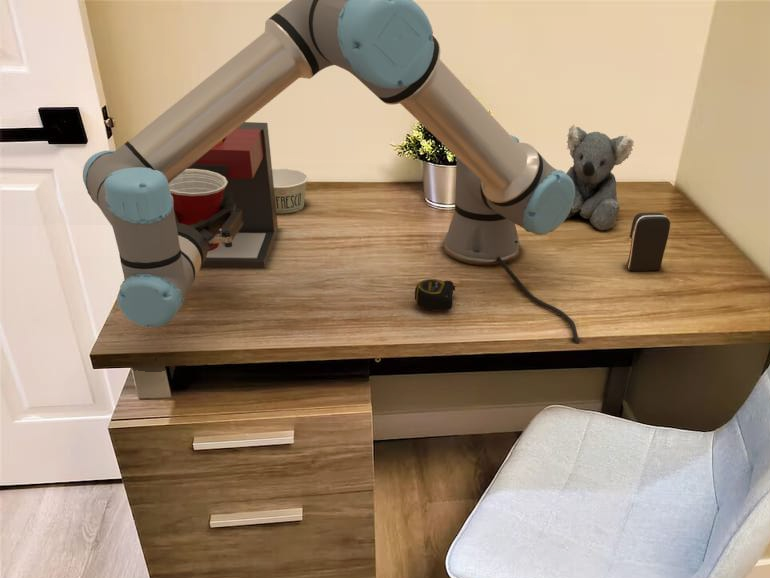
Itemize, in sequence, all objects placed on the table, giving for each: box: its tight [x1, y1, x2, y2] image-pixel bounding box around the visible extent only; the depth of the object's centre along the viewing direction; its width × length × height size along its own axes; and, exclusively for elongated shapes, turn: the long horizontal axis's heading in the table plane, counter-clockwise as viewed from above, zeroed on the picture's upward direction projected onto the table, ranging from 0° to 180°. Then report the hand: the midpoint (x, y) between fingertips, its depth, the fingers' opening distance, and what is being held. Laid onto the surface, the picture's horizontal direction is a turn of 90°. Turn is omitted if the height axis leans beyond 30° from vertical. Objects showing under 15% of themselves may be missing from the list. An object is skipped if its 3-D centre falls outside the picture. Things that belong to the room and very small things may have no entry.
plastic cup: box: [168, 169, 228, 251], centre depth 123 cm, size 11×11×12 cm
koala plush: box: [565, 124, 635, 231], centre depth 165 cm, size 17×18×20 cm
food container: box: [272, 167, 309, 214], centre depth 162 cm, size 12×12×6 cm
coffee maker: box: [187, 121, 279, 269], centre depth 138 cm, size 18×15×22 cm
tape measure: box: [414, 278, 456, 312], centre depth 128 cm, size 7×7×4 cm
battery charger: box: [626, 211, 671, 272], centre depth 144 cm, size 7×4×11 cm, turn 100°
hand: (209, 198), depth 127 cm, fingers closed on plastic cup, 6 cm apart
